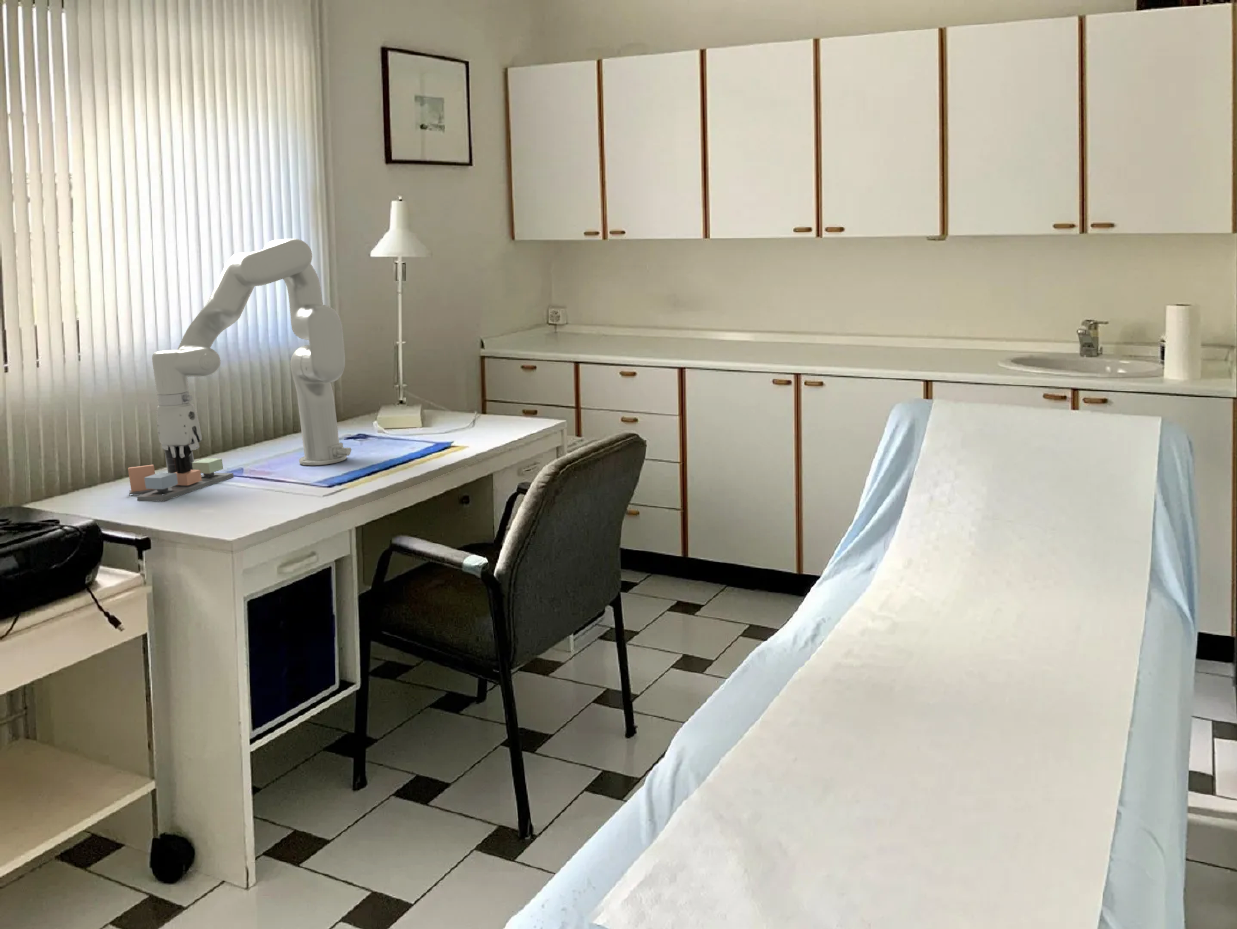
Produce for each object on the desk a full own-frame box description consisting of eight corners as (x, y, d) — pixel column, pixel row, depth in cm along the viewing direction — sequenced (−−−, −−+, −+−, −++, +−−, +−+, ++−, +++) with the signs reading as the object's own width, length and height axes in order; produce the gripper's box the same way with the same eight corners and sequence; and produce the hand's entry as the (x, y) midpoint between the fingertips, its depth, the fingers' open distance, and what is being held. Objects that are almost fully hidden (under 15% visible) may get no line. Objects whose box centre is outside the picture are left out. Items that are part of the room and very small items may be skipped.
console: (233, 476, 306) (233, 473, 305) (163, 501, 282) (163, 497, 282) (208, 476, 308) (208, 472, 308) (137, 500, 285) (136, 496, 284)
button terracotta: (202, 484, 296) (200, 469, 296) (188, 489, 292) (186, 474, 291) (185, 484, 298) (183, 469, 297) (171, 488, 294) (169, 474, 293)
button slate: (178, 488, 288) (176, 473, 288) (163, 493, 284) (161, 477, 283) (161, 487, 290) (159, 472, 289) (146, 492, 286) (144, 477, 285)
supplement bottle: (185, 474, 312) (179, 430, 310) (201, 476, 309) (195, 432, 306) (163, 480, 307) (156, 435, 304) (179, 482, 303) (172, 436, 301)
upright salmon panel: (129, 492, 294) (125, 467, 293) (159, 488, 297) (155, 463, 295) (129, 495, 291) (125, 469, 289) (159, 491, 293) (155, 465, 292)
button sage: (223, 472, 304) (221, 458, 303) (210, 477, 299) (208, 462, 298) (207, 472, 306) (205, 458, 305) (193, 477, 301) (191, 462, 300)
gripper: (208, 397, 291) (218, 469, 295) (160, 397, 296) (170, 468, 300) (188, 402, 284) (197, 476, 288) (139, 402, 290) (149, 475, 293)
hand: (183, 472), depth 294 cm, fingers closed
